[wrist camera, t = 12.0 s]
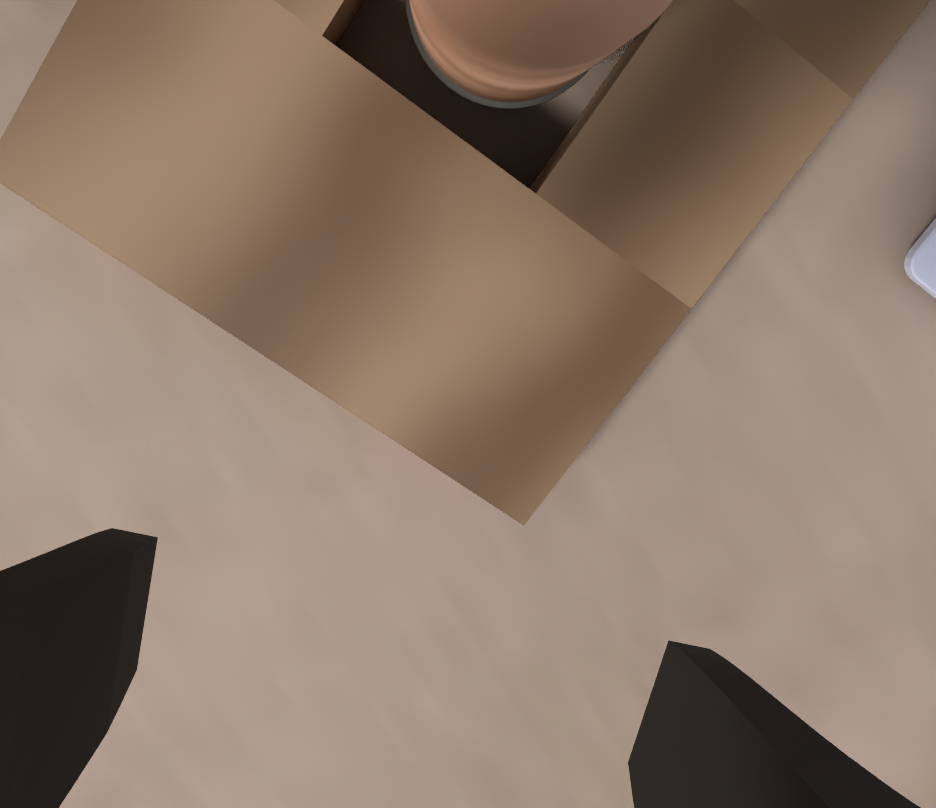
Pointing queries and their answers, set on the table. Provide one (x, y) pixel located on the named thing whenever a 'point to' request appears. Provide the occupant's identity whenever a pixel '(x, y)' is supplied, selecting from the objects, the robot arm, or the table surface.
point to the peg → (522, 43)
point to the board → (433, 204)
